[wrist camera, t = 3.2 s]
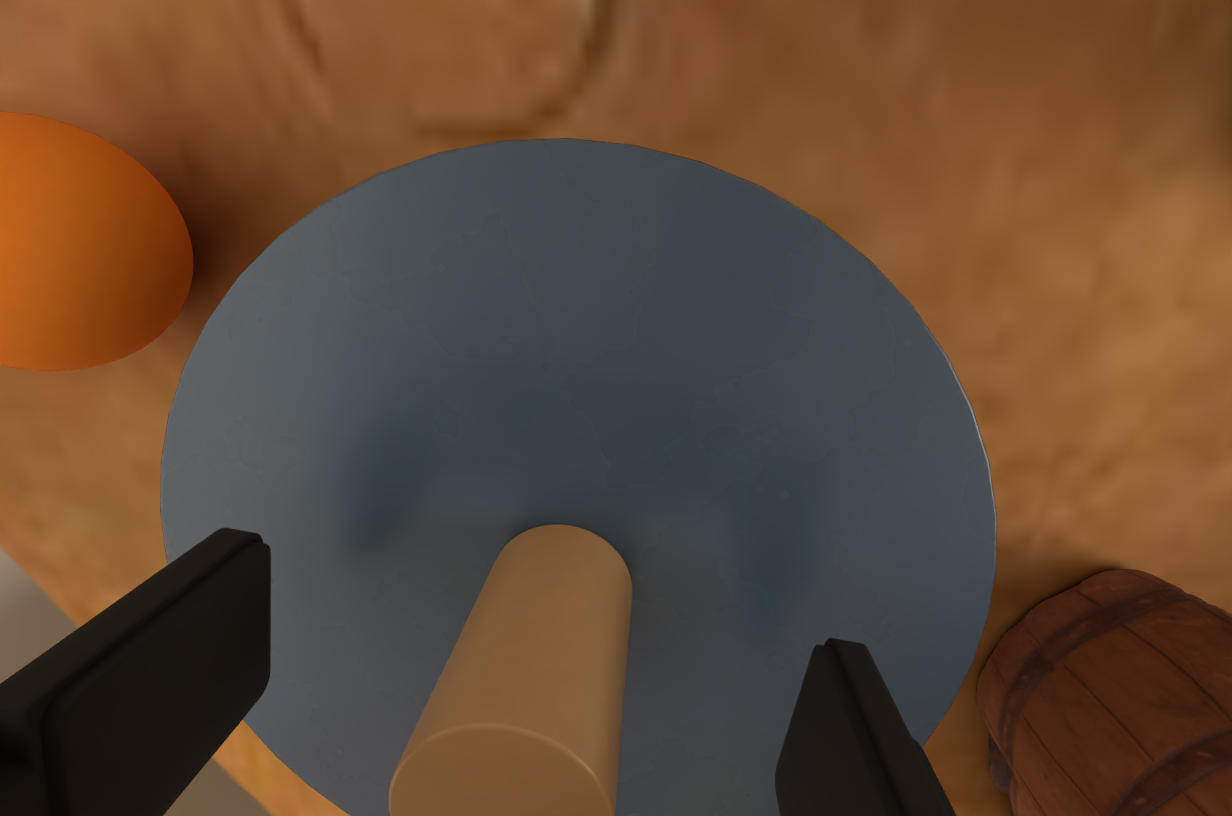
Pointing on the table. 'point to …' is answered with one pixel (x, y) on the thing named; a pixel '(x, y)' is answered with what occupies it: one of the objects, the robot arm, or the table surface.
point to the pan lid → (577, 483)
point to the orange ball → (82, 249)
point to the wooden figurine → (1113, 703)
